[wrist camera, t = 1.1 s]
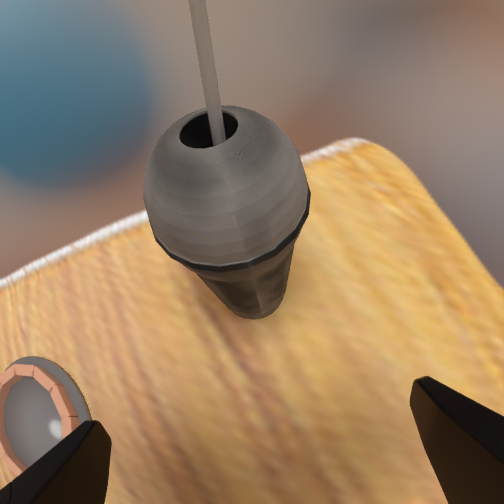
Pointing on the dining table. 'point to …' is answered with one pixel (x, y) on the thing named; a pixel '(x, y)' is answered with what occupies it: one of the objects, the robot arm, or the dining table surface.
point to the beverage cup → (227, 194)
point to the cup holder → (36, 410)
